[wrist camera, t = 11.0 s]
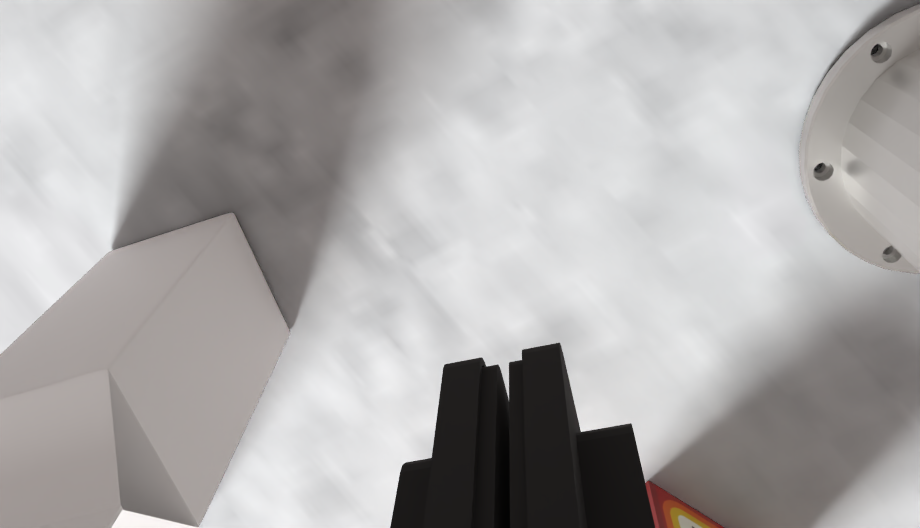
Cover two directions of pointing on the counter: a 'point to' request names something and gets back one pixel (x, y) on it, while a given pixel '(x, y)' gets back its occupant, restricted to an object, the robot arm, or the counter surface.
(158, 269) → the milk carton
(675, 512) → the baking soda box
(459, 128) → the counter surface
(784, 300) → the counter surface
